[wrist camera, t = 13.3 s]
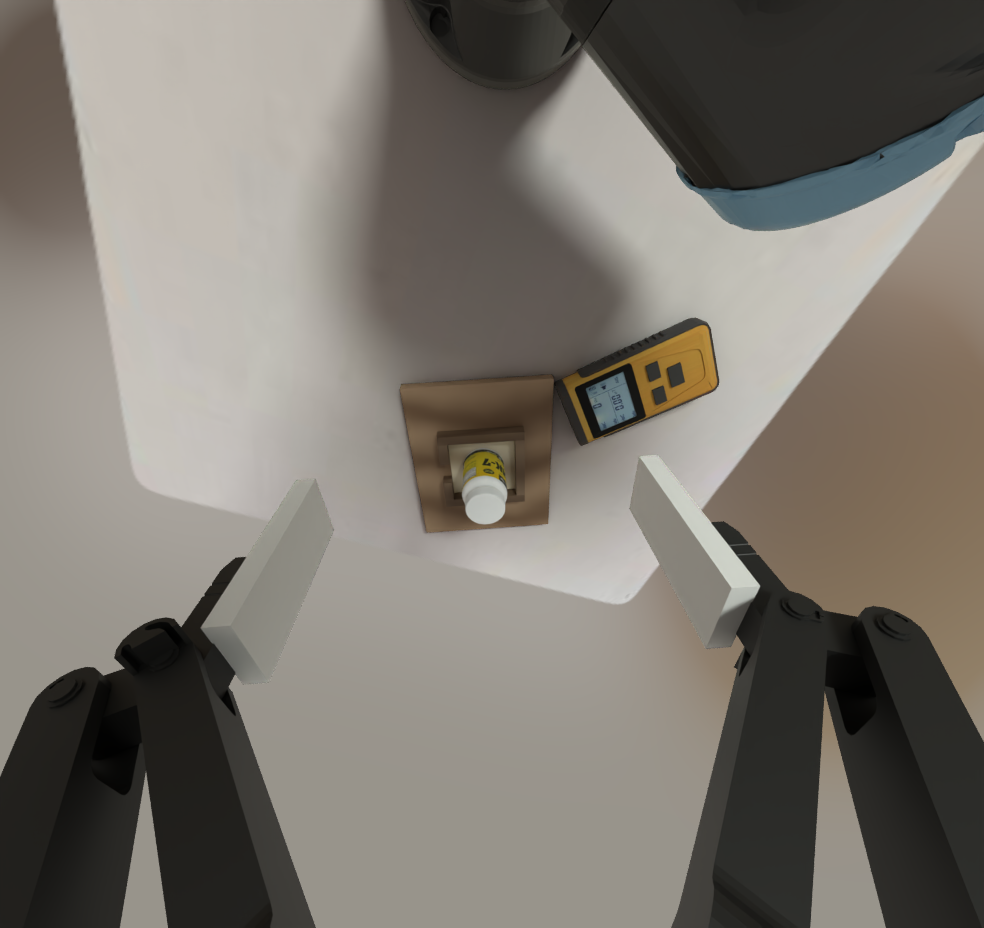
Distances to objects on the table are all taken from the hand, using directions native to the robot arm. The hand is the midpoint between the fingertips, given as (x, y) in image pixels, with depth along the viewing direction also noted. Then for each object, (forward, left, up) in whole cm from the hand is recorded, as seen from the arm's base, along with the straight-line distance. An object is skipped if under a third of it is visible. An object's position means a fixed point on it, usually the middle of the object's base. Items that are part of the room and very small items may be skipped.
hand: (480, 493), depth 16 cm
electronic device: (+6, +17, -27) cm, 33 cm away
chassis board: (+15, 0, -27) cm, 31 cm away
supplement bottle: (+15, 0, -26) cm, 30 cm away
